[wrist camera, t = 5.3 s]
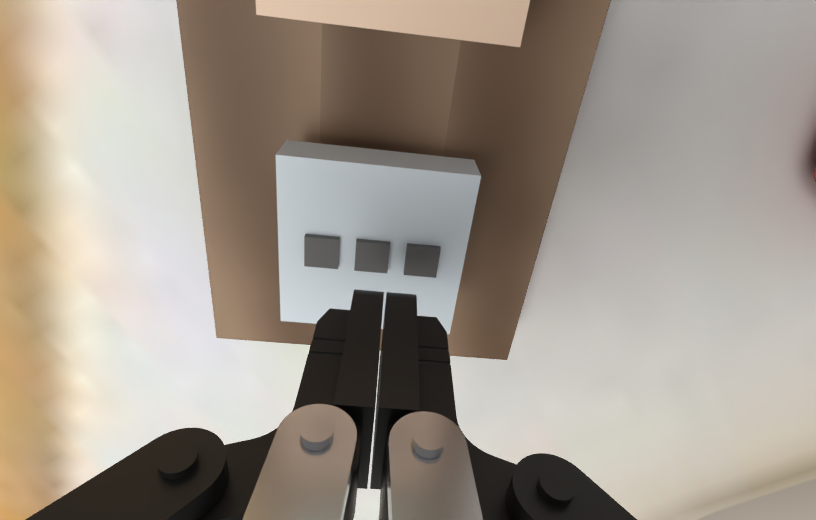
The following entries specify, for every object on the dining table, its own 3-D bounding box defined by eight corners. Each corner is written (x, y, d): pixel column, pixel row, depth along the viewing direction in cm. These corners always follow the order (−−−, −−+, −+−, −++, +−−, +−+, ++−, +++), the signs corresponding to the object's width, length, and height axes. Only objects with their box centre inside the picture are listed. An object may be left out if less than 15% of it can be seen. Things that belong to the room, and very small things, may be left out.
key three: (464, 136, 16) (482, 178, 13) (440, 271, 19) (449, 338, 16) (302, 118, 16) (273, 157, 12) (302, 259, 19) (279, 324, 15)
